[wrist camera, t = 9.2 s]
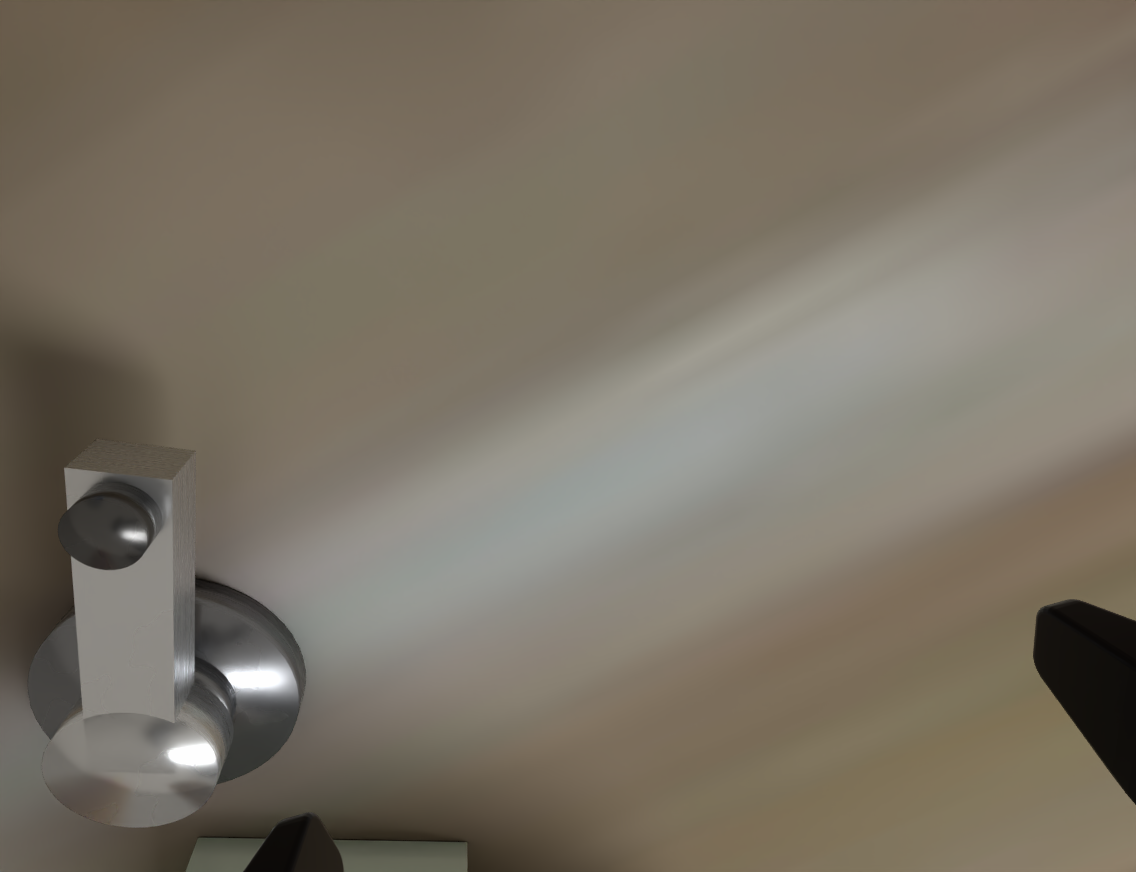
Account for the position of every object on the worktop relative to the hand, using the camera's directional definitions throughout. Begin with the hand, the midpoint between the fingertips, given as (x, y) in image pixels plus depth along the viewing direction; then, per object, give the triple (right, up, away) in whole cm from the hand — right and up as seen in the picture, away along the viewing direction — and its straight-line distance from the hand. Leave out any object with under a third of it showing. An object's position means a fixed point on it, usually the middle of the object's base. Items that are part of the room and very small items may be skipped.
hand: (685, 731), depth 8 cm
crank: (-12, -1, +9) cm, 15 cm away
